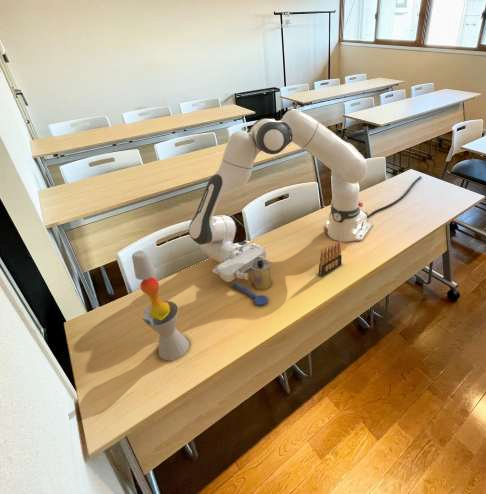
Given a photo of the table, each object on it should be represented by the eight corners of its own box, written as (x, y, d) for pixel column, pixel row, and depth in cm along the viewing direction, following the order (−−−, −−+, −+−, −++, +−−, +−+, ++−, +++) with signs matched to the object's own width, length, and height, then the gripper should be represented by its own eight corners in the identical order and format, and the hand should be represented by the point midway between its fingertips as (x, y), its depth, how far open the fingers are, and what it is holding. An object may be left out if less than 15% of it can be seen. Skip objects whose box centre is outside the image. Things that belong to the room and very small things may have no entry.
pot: (262, 275, 127) (259, 254, 121) (275, 282, 123) (273, 260, 117) (249, 284, 122) (246, 262, 117) (262, 292, 119) (260, 270, 113)
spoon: (229, 288, 121) (229, 285, 120) (238, 282, 124) (238, 279, 123) (261, 308, 113) (260, 305, 112) (269, 300, 115) (269, 297, 115)
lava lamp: (151, 354, 98) (109, 259, 78) (172, 332, 105) (139, 239, 85) (175, 365, 95) (138, 268, 75) (195, 341, 102) (166, 247, 81)
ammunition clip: (338, 262, 132) (339, 237, 126) (341, 264, 131) (343, 239, 124) (318, 274, 127) (318, 248, 120) (321, 276, 126) (322, 250, 119)
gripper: (208, 263, 119) (234, 278, 112) (249, 238, 132) (275, 250, 125) (211, 277, 123) (237, 292, 116) (251, 251, 136) (276, 263, 129)
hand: (257, 270), depth 120 cm, fingers open, 8 cm apart
